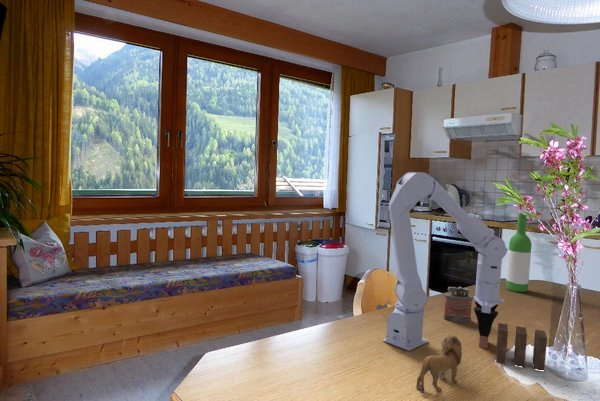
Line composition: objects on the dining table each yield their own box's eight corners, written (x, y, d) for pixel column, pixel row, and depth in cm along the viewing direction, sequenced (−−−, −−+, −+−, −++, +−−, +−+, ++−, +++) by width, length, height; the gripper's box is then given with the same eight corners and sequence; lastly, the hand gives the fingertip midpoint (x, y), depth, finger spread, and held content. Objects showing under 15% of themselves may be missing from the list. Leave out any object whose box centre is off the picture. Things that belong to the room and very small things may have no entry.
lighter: (469, 318, 134) (471, 286, 134) (472, 322, 131) (474, 289, 130) (442, 316, 135) (444, 284, 134) (444, 320, 132) (447, 287, 131)
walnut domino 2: (514, 366, 102) (517, 332, 102) (513, 358, 107) (516, 326, 106) (524, 368, 101) (527, 334, 101) (523, 359, 106) (525, 327, 105)
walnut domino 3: (534, 370, 101) (537, 336, 100) (532, 361, 105) (535, 329, 105) (544, 372, 100) (547, 337, 99) (541, 363, 104) (544, 330, 104)
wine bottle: (513, 286, 175) (519, 212, 173) (532, 291, 169) (538, 214, 166) (501, 288, 172) (507, 212, 169) (519, 293, 165) (526, 214, 163)
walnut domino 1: (496, 362, 104) (498, 329, 103) (495, 354, 108) (498, 323, 108) (505, 364, 103) (508, 331, 102) (504, 356, 108) (507, 324, 107)
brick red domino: (478, 346, 113) (481, 316, 112) (479, 340, 117) (481, 311, 117) (487, 348, 112) (489, 317, 111) (487, 341, 116) (489, 312, 116)
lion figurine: (442, 368, 99) (444, 330, 99) (465, 377, 96) (468, 337, 95) (410, 391, 89) (412, 348, 88) (434, 401, 85) (437, 356, 84)
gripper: (505, 290, 105) (501, 345, 106) (504, 277, 118) (500, 326, 119) (474, 285, 108) (470, 339, 109) (476, 273, 121) (472, 321, 122)
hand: (484, 332), depth 114 cm, fingers closed on brick red domino, 5 cm apart
